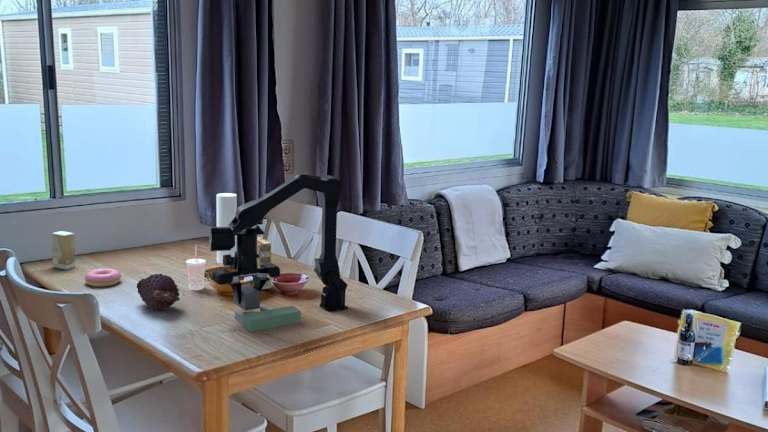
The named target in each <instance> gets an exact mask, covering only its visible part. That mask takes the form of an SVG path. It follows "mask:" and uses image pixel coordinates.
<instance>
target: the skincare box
mask: <svg viewBox="0 0 768 432" xmlns="http://www.w3.org/2000/svg"><path fill="white" fill-rule="evenodd" d="M75 235H76V234H75V233H74V232H70V231H64V230H61V231H54V232H52V233H51V245H52V246H51V247H52V248H51V249H52V268H57V269H61V270H70V269H73V268H75V267H76V241H75V239H76V238H75V237H76V236H75Z"/></svg>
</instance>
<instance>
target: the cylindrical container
mask: <svg viewBox="0 0 768 432" xmlns="http://www.w3.org/2000/svg"><path fill="white" fill-rule="evenodd" d="M237 199H238V194H236V193H233V192H232V193H231V192H230V193H229V192H222V193H217V194H216V227H229V224H230V223H231V221H232V220H233V219H234V217H235V216H236V210H237V208H238V206H237V204H238V202H237V201H238V200H237ZM235 252H237V235H235V247H233V248H231V250H229V251H216V262H217V264H220V265H223V255H229V254H230V255H231V257H234V256H235Z"/></svg>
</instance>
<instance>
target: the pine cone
mask: <svg viewBox="0 0 768 432" xmlns="http://www.w3.org/2000/svg"><path fill="white" fill-rule="evenodd" d="M136 288H137V294H139V297H140V298H141V301H142V302H144V304H145V306H147V307H149V308H150V309H156V310H159V309H161V310H167V309H169V308H170V307H171V306H173V305H174V304H175V303H176V302H178V301H180V300H181V298H180V293H179V290H180V289H179V288H178V285H177V284H176V283H175V280H173V278H172V277H171V276H170V275H167V274H162V273H155V274H150V275H149V276H148V277H146V278H141V280H139V281H138V282H137V283H136Z"/></svg>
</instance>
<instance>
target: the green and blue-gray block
mask: <svg viewBox="0 0 768 432" xmlns="http://www.w3.org/2000/svg"><path fill="white" fill-rule="evenodd" d="M301 318H302V312H301V310H300V309H299V308H297V307H295V306H293V305H289V306H283V307H277V308H273V309H269V308H268V307H267V306H264V305H263V306H262V305H260V308H259V311H253V312H249V313H248V312H247V313H243V312H242V311H241V310H238V309H237V310H234V319H235V320H237V321H238V322H239V323H240V324H242V326H243V328H245V329H246V330H247V331H249V332H250V333H254V332H259V331H260V332H261V331H264V330H265V331H266V330H269V329H273V328H274V329H275V328H280V327H284V326H285V327H286V326H290V325H296V324H301V323H302V322H301Z"/></svg>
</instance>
